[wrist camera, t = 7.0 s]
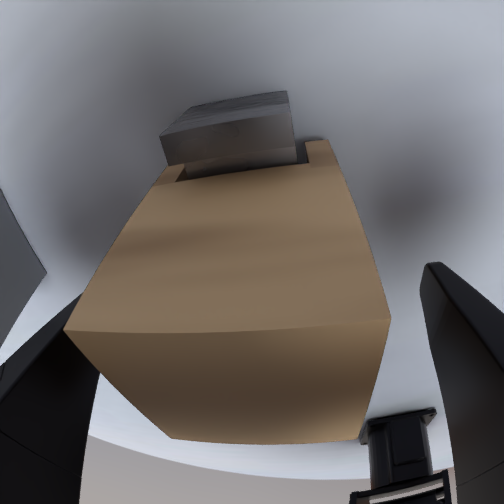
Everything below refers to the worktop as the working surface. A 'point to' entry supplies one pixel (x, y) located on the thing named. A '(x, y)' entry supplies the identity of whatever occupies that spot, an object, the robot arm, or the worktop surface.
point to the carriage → (241, 306)
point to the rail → (232, 136)
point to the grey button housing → (15, 270)
